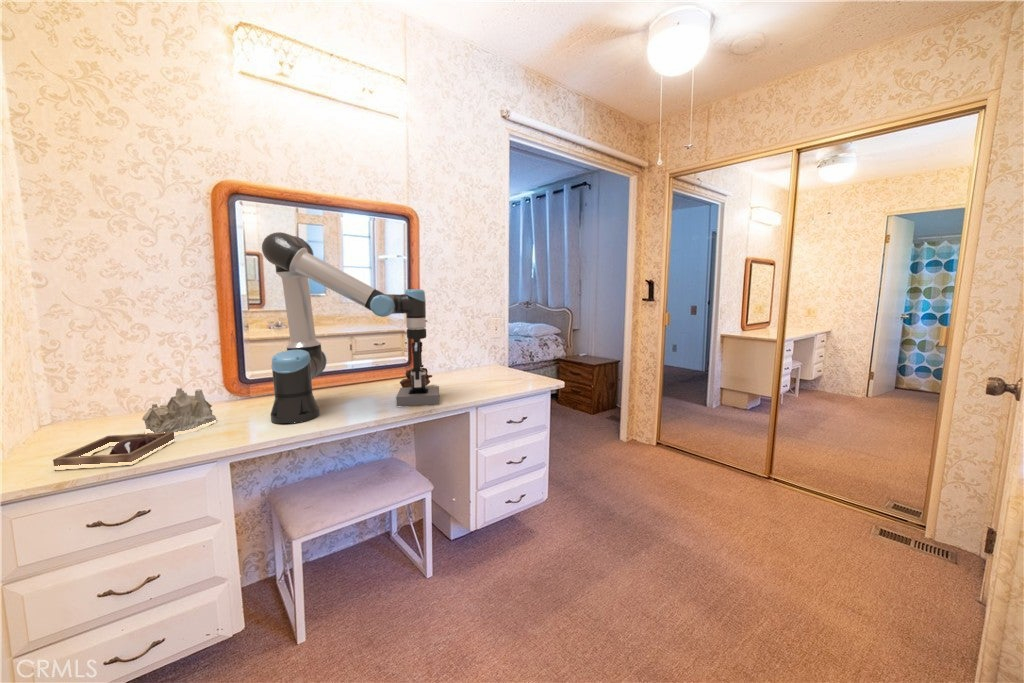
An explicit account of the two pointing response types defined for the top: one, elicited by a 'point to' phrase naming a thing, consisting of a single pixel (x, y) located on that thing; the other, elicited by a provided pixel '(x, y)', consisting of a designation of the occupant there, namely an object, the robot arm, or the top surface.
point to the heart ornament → (131, 445)
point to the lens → (423, 385)
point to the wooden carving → (407, 382)
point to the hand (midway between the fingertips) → (418, 385)
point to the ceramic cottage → (179, 413)
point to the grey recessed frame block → (418, 397)
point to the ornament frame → (74, 458)
